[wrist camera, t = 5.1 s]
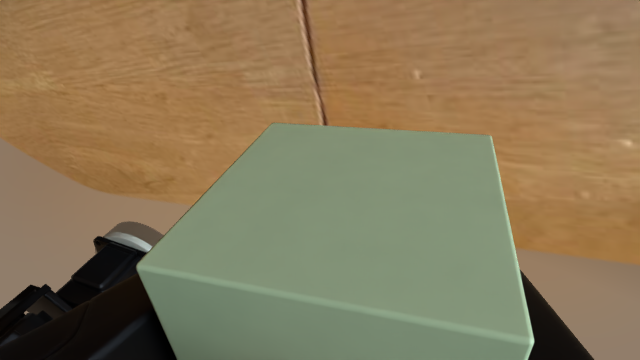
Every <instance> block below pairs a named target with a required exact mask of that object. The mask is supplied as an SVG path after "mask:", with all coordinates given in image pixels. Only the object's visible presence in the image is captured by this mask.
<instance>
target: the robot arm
mask: <svg viewBox="0 0 640 360" xmlns="http://www.w3.org/2000/svg"><path fill="white" fill-rule="evenodd" d="M93 242H94V245H95V248H96V251H97V254H96V255H94V256H93V257H92V258H91V259H90V260H89V261H88V262H87V263H85V264H84V265H83V266H82V267H81V268H80V269H79V270H78V271H77V272H75V273H74V274H73V275H72V276H71V279H70V281H68V282H67V283H66V284H65V285H64V286H63V287H62V288H61V289H59V290H58V291H57V292H56V293H54V292H53V291H52V290H51V288H50V287H49V286H48V285H47V284H45V285H44V286H42V287H41V288H40V287H36V286H33V285H30V286H28V287H27V288H26V289H25V290H24V291H22V292H21V293H20V294H19V295H17V296H16V297H15V298H14V299H13V300H11V301H10V302H9V303H8V304H6V305H5V306H4V307H3V308H1V309H0V360H177V358H176V356H175V354H174V352H173V350H172V347H171V345H170V343H169V341H168V339H167V336H166V334H165V332H164V330H163V327H162V325H161V323H160V321H159V319H158V316H157V314H156V312H155V310H154V308H153V305H152V303H151V301H150V299H149V296H148V294H147V292H146V290H145V288H144V285H143V283H142V281H141V279H140V277H139V274H138V272H137V270H136V265H137V263H138V262H139V261H140V260H141V259H142V258H143V257H144V256H145V255H146V254H147V252H144V251H141V250H138V249H135V248H133V247H130V246H127V245H124V244H121V243H118V242H116V241H113V240H110V239H107V238H104V237H101V236H97V237H96V238H95V239H94V240H93ZM519 270H520V269H519ZM520 275H521V279H522V284H523V289H524V294H525V299H526V303H527V308H528V313H529V318H530V323H531V327H532V332H533V337H534V344H533V347H532V350H531V352H530V355H529V357H528V360H594V359H593V358H592V356H591V355H590V354H589V353H588V351H587V350H586V349H585V348H584V347H583V345H582V344H581V343H580V342H579V341H578V339H577V338H576V337H575V336H574V334H573V333H572V332H571V331H570V329H569V328H568V327H567V326H566V325H565V324H564V322H563V321H562V320H561V319H560V317H559V316H558V315H557V314H556V312H555V311H554V310H553V309H552V308H551V306H550V305H549V304H548V303H547V302H546V300H545V299H544V298H543V297H542V295H541V294H540V293H539V292H538V291H537V290H536V288H535V287H534V286H533V285H532V283H531V282H530V281H529V280H528V278H527V277H526V276H525V275H524V274H523V272H522V271H521V270H520ZM26 310H27V311H28V312H29V313H27V314H26V315H25V314H24V312H25V311H26Z"/></svg>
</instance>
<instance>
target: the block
mask: <svg viewBox="0 0 640 360" xmlns="http://www.w3.org/2000/svg"><path fill="white" fill-rule="evenodd" d="M136 270H137V272H138V274H139V277H140V279H141V281H142V283H143V285H144V288H145V290H146V292H147V294H148V296H149V299H150V301H151V303H152V305H153V308H154V310H155V312H156V314H157V316H158V319H159V321H160V323H161V325H162V327H163V330H164V332H165V334H166V336H167V339H168V341H169V343H170V345H171V347H172V350H173V352H174V354H175V356H176V358H177V360H528V357H529V355H530V352H531V350H532V347H533V344H534V337H533V332H532V327H531V323H530V318H529V313H528V308H527V303H526V299H525V294H524V289H523V284H522V279H521V275H520V270H519V265H518V260H517V255H516V251H515V246H514V241H513V236H512V231H511V226H510V222H509V217H508V212H507V207H506V202H505V198H504V193H503V188H502V183H501V178H500V174H499V169H498V164H497V159H496V154H495V150H494V145H493V140H492V136H490V135H478V134H460V133H443V132H426V131H408V130H391V129H373V128H356V127H339V126H321V125H304V124H286V123H272V124H271V125H270V126H269V127H268V128H267V129H266V130H265V131H264V132H263V133H262V134H261V135H260V136H259V137H258V138H257V139H256V140H255V141H254V142H253V143H252V144H251V145H250V146H249V147H248V149H247V150H246V151H245V152H244V153H243V154H242V155H241V156H240V157H239V158H238V159H237V160H236V161H235V162H234V163H233V164H232V165H231V166H230V167H229V168H228V169H227V170H226V171H225V172H224V174H223V175H222V176H221V177H220V178H219V179H218V180H217V181H216V182H215V183H214V184H213V185H212V186H211V187H210V188H209V189H208V190H207V191H206V192H205V193H204V194H203V195H202V196H201V197H200V199H199V200H198V201H197V202H196V203H195V204H194V205H193V206H192V207H191V208H190V209H189V210H188V211H187V212H186V213H185V214H184V215H183V216H182V217H181V218H180V219H179V221H178V222H176V224H175V225H174V226H173V227H172V228H171V229H170V230H169V231H168V232H167V233H166V234H165V235H164V236H163V237H162V238H161V239H160V240H159V241H158V242H157V243H156V244H155V245H154V246H153V247H152V248H151V250H150V251H149V252H148V253H147V254H146V255H145V256H144V257H143V258H142V259H141V260H140V261H139V262H138V263H137V265H136Z"/></svg>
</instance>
